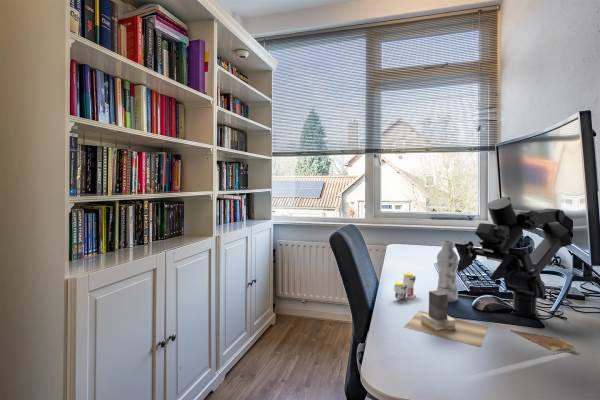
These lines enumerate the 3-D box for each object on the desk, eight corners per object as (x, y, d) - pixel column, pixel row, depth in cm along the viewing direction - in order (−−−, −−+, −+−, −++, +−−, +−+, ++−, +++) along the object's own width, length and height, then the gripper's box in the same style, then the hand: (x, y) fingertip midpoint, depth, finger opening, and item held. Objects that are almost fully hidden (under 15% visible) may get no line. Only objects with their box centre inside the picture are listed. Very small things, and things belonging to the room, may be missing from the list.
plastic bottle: (462, 303, 104) (463, 242, 103) (446, 306, 102) (447, 244, 101) (446, 297, 110) (447, 239, 109) (431, 299, 108) (432, 240, 107)
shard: (510, 335, 83) (510, 328, 83) (533, 332, 85) (533, 325, 85) (552, 357, 72) (552, 349, 72) (577, 352, 74) (578, 344, 74)
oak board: (419, 313, 96) (419, 310, 96) (488, 328, 85) (488, 326, 85) (403, 330, 85) (403, 327, 85) (480, 350, 74) (480, 347, 74)
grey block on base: (438, 319, 90) (439, 288, 89) (455, 328, 84) (455, 295, 84) (421, 322, 88) (421, 290, 87) (436, 332, 82) (437, 297, 82)
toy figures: (403, 304, 103) (403, 279, 103) (391, 301, 107) (391, 276, 106) (420, 295, 112) (420, 272, 111) (408, 293, 115) (408, 270, 115)
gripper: (463, 213, 95) (433, 244, 89) (533, 218, 79) (502, 257, 73) (475, 243, 98) (446, 275, 92) (544, 254, 82) (515, 293, 76)
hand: (474, 274), depth 83 cm, fingers open, 9 cm apart
